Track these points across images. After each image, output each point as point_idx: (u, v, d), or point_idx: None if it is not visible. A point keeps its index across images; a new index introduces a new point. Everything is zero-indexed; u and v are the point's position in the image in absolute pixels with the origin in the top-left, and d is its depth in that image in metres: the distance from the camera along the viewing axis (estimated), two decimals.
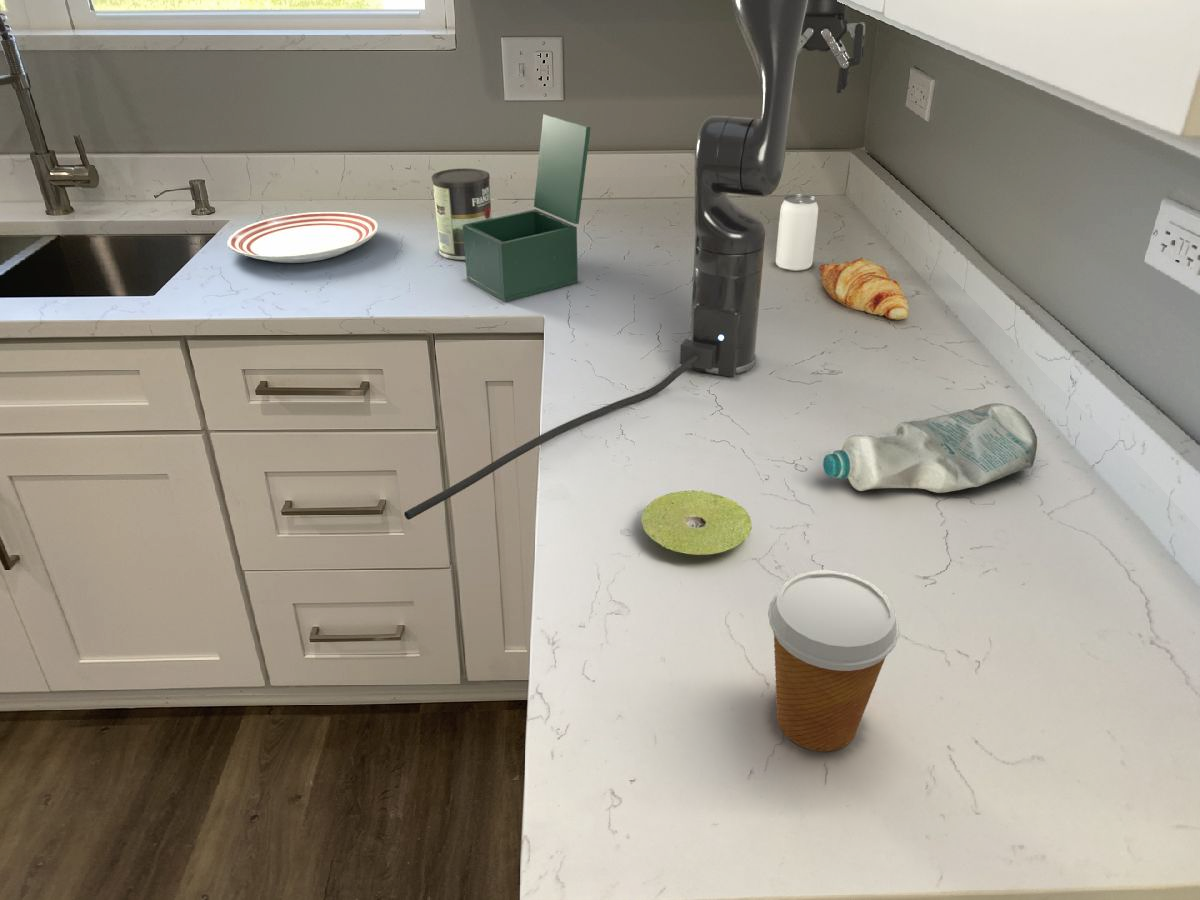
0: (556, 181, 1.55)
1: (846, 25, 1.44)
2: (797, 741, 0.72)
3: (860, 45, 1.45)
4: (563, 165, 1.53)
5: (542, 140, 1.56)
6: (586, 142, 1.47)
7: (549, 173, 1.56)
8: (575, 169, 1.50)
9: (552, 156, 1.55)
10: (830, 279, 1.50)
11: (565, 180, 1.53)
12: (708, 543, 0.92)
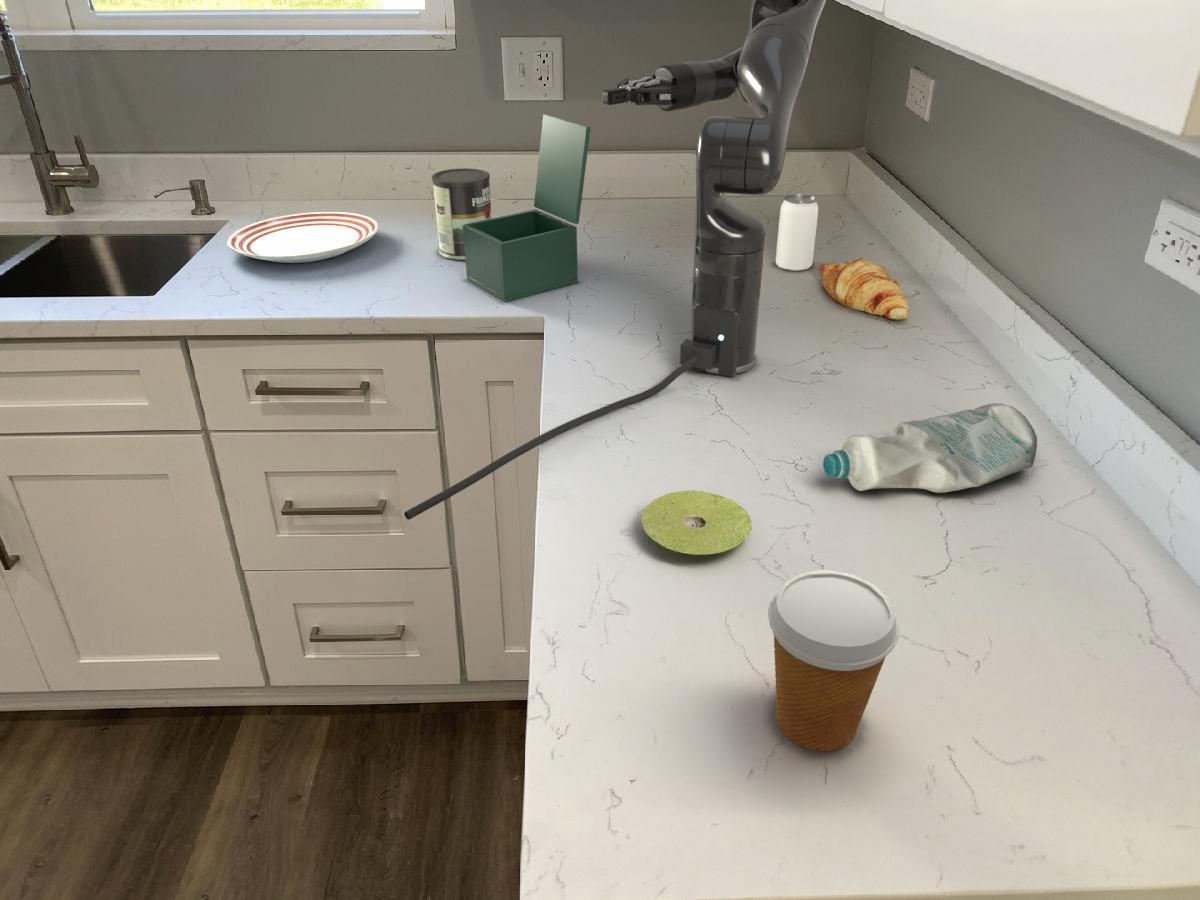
0: (556, 181, 1.55)
1: (672, 89, 1.56)
2: (797, 741, 0.72)
3: (652, 89, 1.53)
4: (563, 165, 1.53)
5: (542, 140, 1.56)
6: (586, 142, 1.47)
7: (549, 173, 1.56)
8: (575, 169, 1.50)
9: (552, 156, 1.55)
10: (830, 279, 1.50)
11: (565, 180, 1.53)
12: (708, 543, 0.92)
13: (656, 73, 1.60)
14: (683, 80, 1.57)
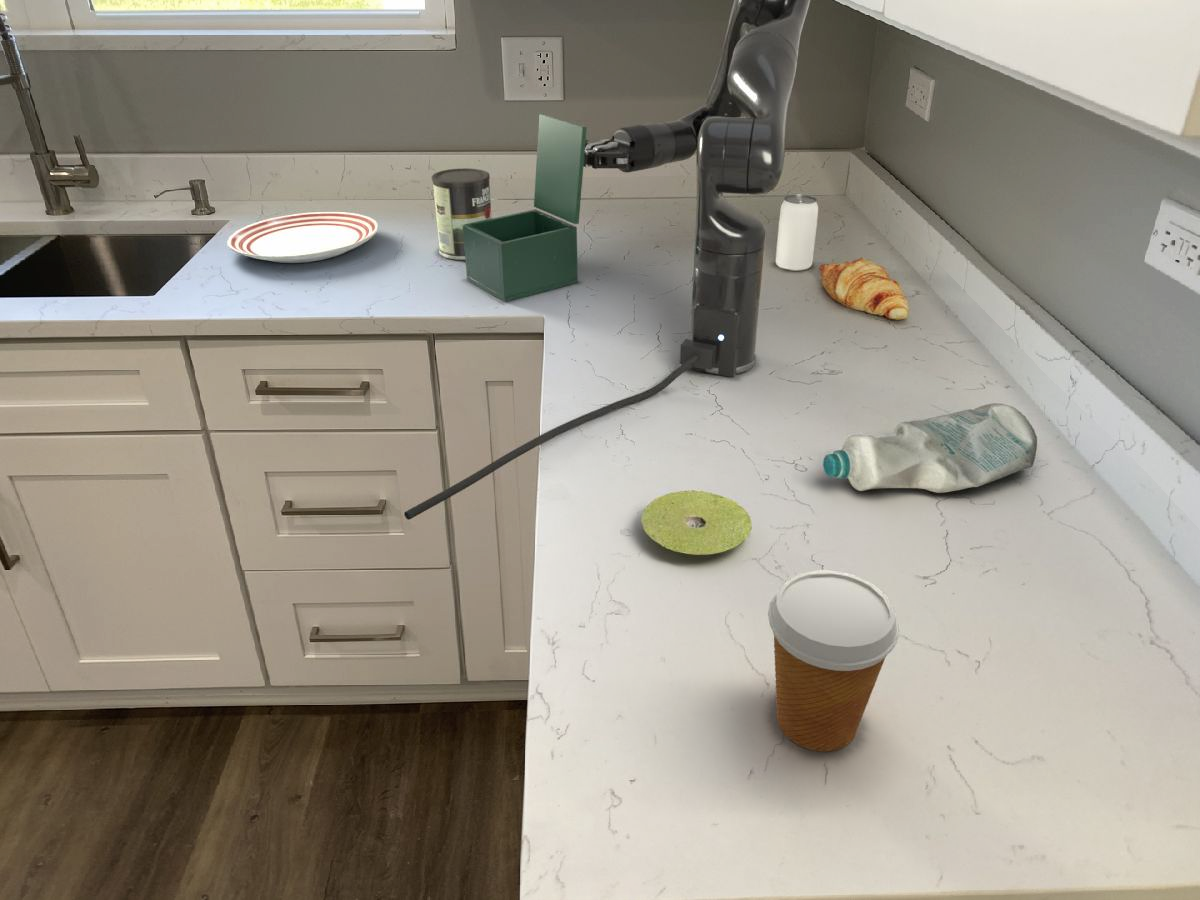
0: (555, 181, 1.55)
1: (630, 152, 1.56)
2: (797, 741, 0.72)
3: (608, 153, 1.53)
4: (561, 165, 1.52)
5: (539, 140, 1.56)
6: (583, 142, 1.47)
7: (547, 173, 1.56)
8: (573, 170, 1.50)
9: (550, 156, 1.55)
10: (830, 279, 1.50)
11: (564, 180, 1.53)
12: (708, 543, 0.92)
13: (615, 135, 1.60)
14: (641, 143, 1.58)
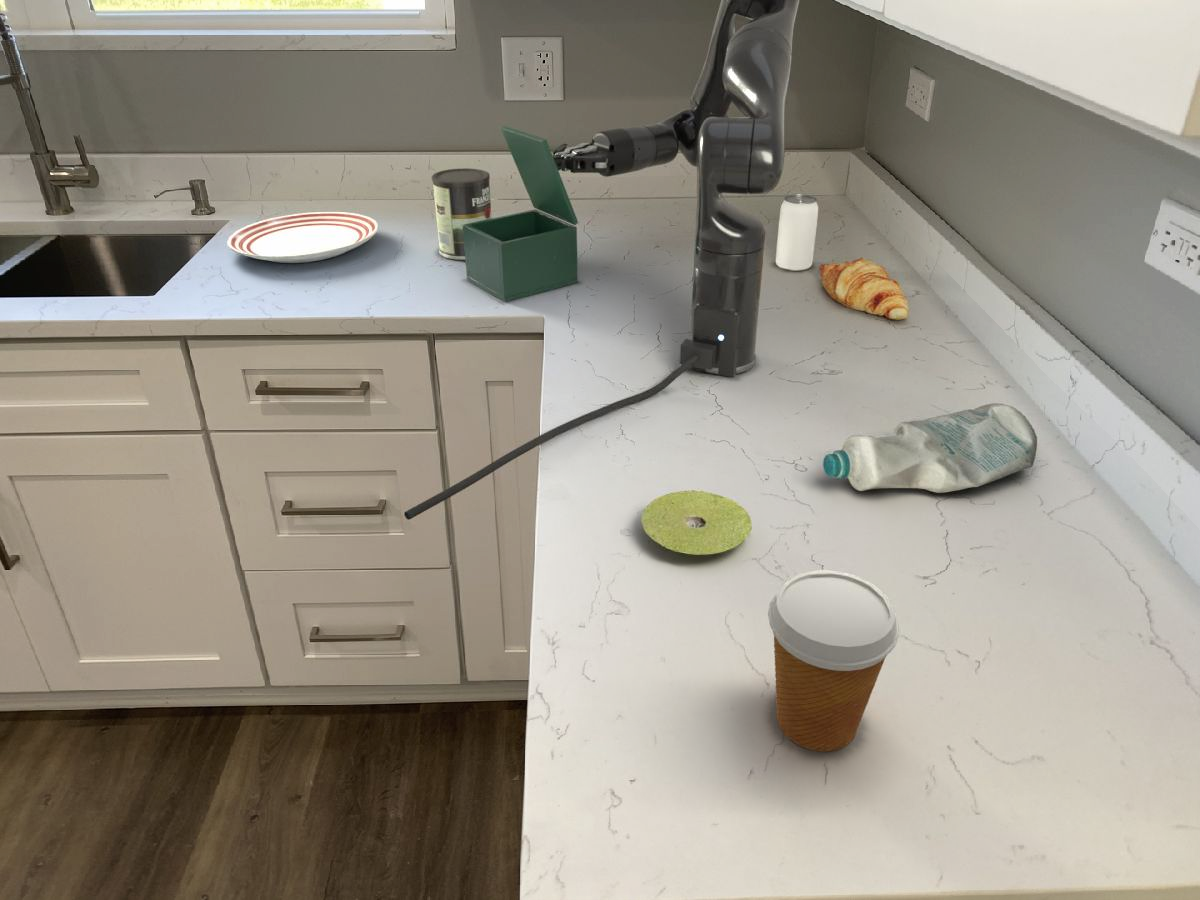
0: (541, 187, 1.54)
1: (609, 156, 1.54)
2: (797, 741, 0.72)
3: (587, 157, 1.51)
4: (539, 174, 1.51)
5: (511, 150, 1.54)
6: (549, 154, 1.44)
7: (532, 180, 1.55)
8: (551, 178, 1.48)
9: (527, 165, 1.53)
10: (830, 279, 1.50)
11: (548, 187, 1.51)
12: (708, 543, 0.92)
13: (594, 138, 1.58)
14: (621, 147, 1.55)
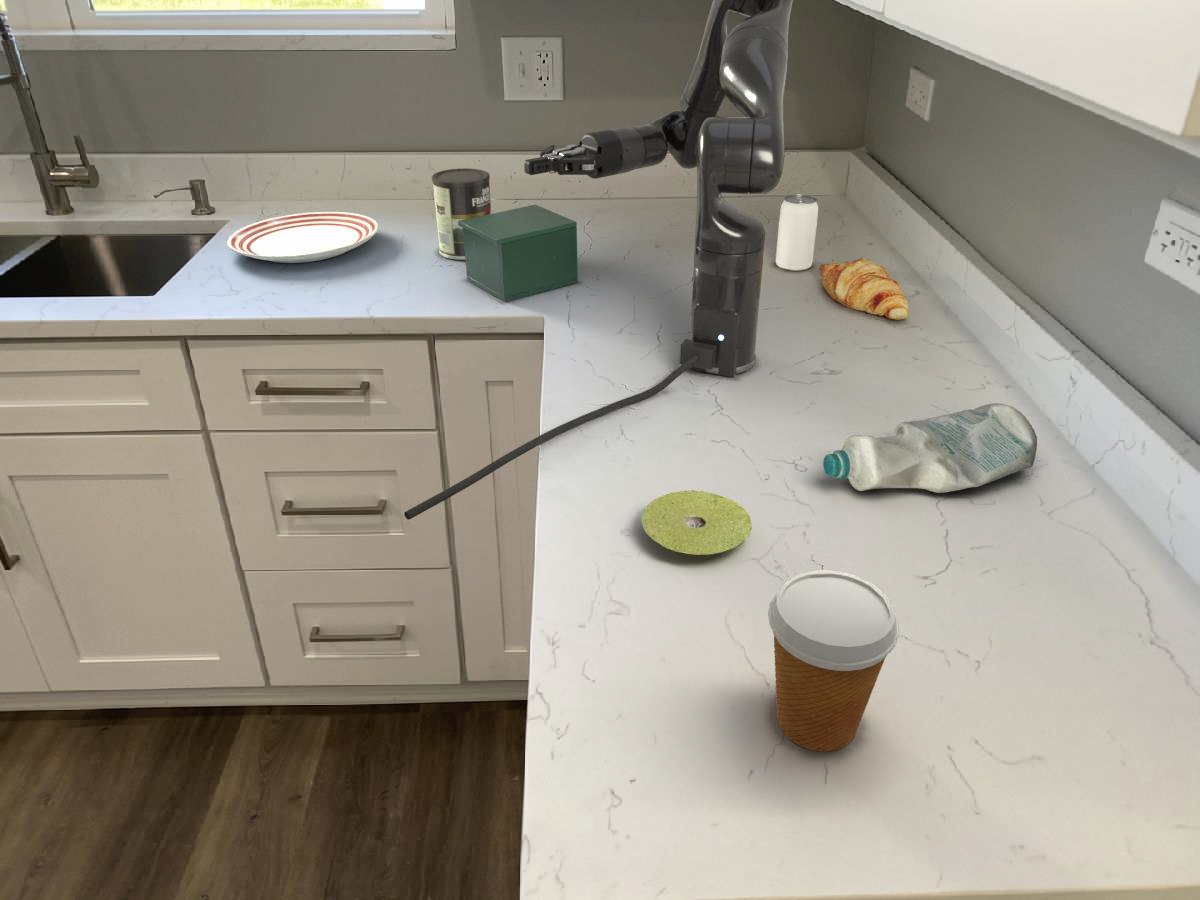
0: None
1: (597, 158, 1.53)
2: (797, 741, 0.72)
3: (574, 159, 1.50)
4: None
5: None
6: (509, 240, 1.46)
7: None
8: None
9: None
10: (830, 279, 1.50)
11: None
12: (708, 543, 0.92)
13: (582, 140, 1.57)
14: (609, 148, 1.54)
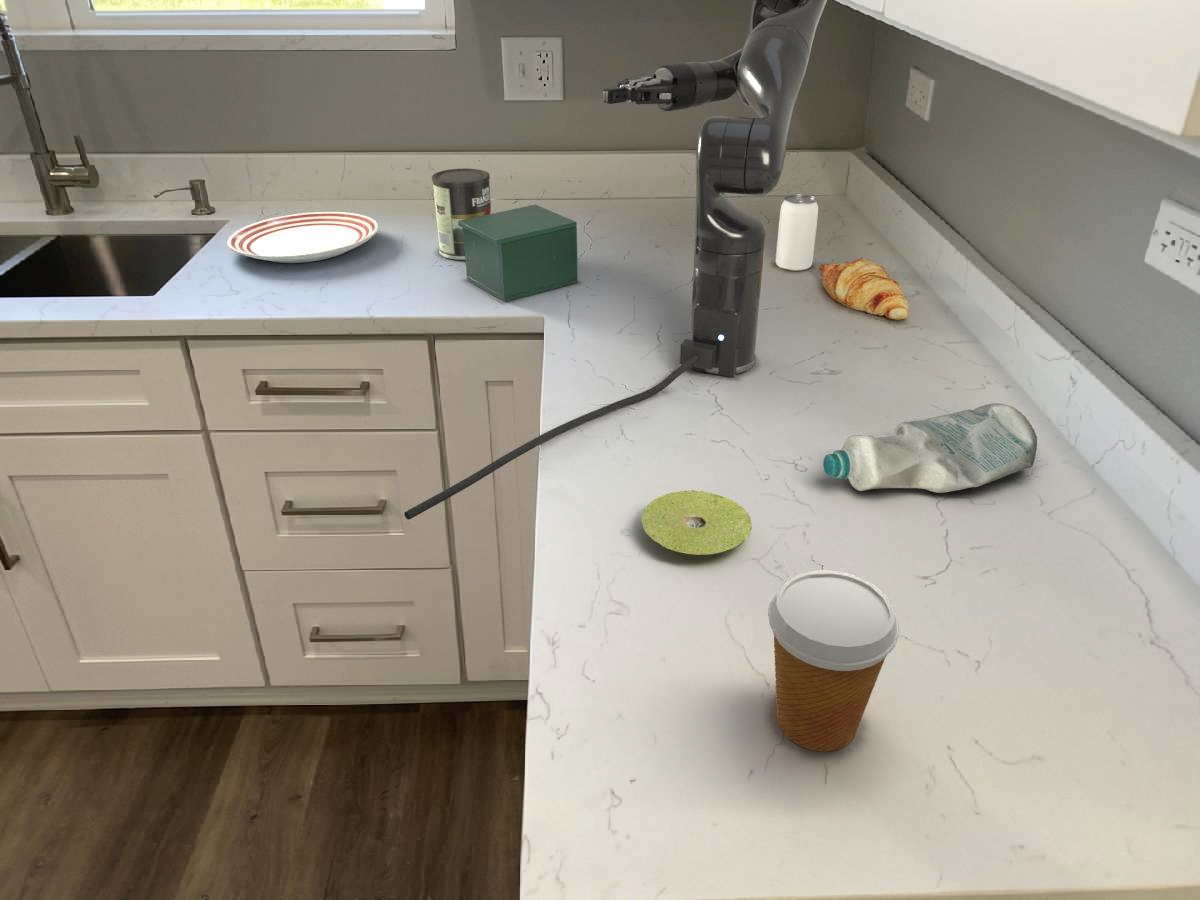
0: None
1: (673, 89, 1.56)
2: (797, 741, 0.72)
3: (652, 88, 1.53)
4: None
5: None
6: (509, 240, 1.46)
7: None
8: None
9: None
10: (830, 279, 1.50)
11: None
12: (708, 543, 0.92)
13: (657, 73, 1.60)
14: (683, 80, 1.57)
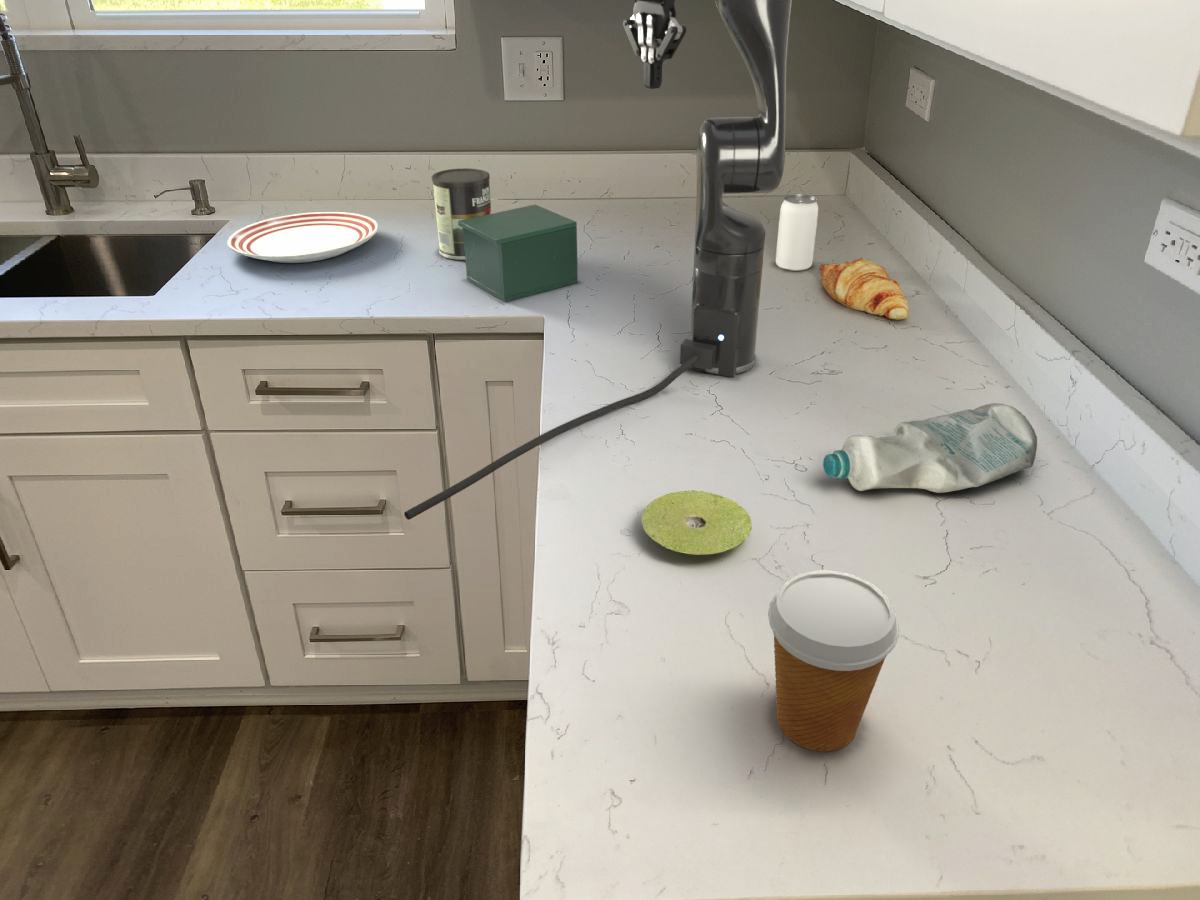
0: None
1: (668, 12, 1.36)
2: (797, 741, 0.72)
3: (665, 46, 1.38)
4: None
5: None
6: (509, 240, 1.46)
7: None
8: None
9: None
10: (830, 279, 1.50)
11: None
12: (708, 543, 0.92)
13: None
14: None
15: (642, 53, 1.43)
